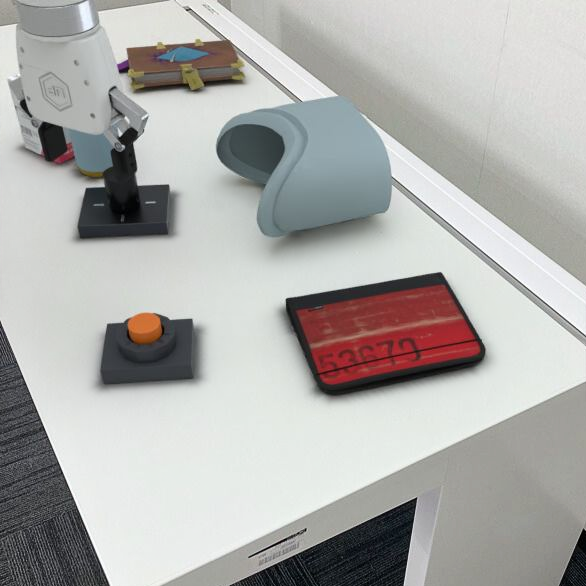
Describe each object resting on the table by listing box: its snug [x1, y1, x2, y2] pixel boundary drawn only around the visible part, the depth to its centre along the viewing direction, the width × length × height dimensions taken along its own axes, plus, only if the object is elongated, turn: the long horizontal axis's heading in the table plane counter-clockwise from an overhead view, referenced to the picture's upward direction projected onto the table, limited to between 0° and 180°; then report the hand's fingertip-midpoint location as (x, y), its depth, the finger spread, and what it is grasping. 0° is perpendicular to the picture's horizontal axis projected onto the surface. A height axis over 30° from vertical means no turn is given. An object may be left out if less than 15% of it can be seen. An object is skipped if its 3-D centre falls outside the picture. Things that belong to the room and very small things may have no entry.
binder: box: [284, 271, 487, 395], centre depth 96 cm, size 16×2×21 cm
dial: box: [102, 166, 141, 213], centre depth 111 cm, size 4×4×5 cm
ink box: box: [6, 72, 75, 164], centre depth 123 cm, size 8×5×12 cm, turn 55°
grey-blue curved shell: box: [215, 95, 393, 239], centre depth 113 cm, size 22×19×13 cm
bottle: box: [68, 125, 120, 179], centre depth 118 cm, size 7×7×15 cm
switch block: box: [99, 312, 195, 385], centre depth 92 cm, size 10×8×4 cm
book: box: [117, 38, 246, 91], centre depth 147 cm, size 16×25×5 cm, turn 105°
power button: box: [128, 312, 162, 344], centre depth 90 cm, size 4×4×2 cm
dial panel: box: [76, 183, 172, 239], centre depth 113 cm, size 12×10×2 cm
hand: (91, 166), depth 90 cm, fingers open, 9 cm apart
